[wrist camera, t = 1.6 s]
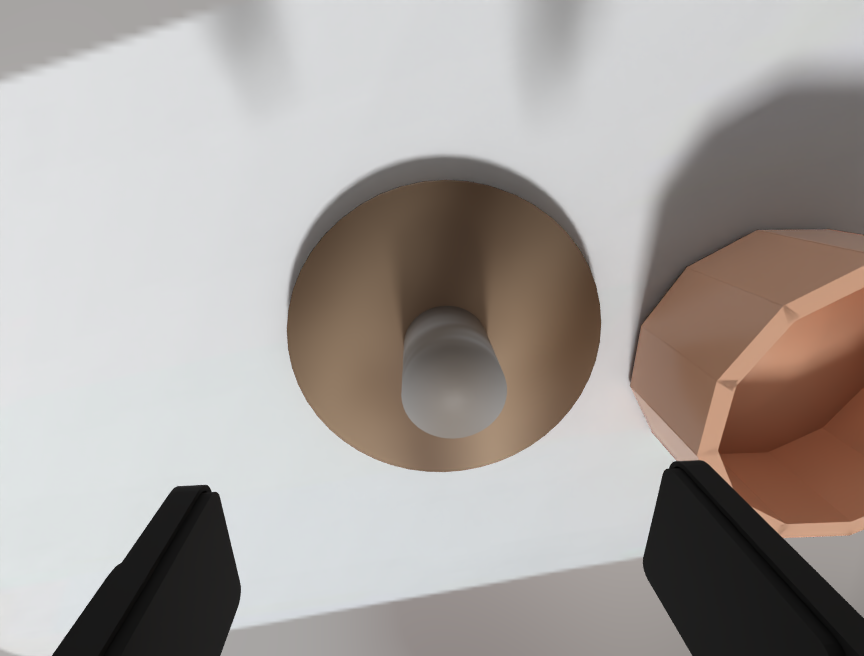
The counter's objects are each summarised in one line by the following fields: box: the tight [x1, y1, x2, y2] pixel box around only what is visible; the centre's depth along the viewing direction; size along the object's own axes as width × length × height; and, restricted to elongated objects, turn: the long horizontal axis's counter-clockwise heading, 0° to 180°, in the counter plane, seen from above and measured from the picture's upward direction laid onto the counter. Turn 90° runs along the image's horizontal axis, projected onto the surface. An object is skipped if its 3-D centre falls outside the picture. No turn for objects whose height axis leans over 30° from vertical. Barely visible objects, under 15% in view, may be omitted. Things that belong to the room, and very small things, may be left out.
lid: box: [287, 180, 601, 472], centre depth 17 cm, size 13×13×5 cm
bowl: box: [630, 229, 864, 538], centre depth 17 cm, size 11×11×5 cm
